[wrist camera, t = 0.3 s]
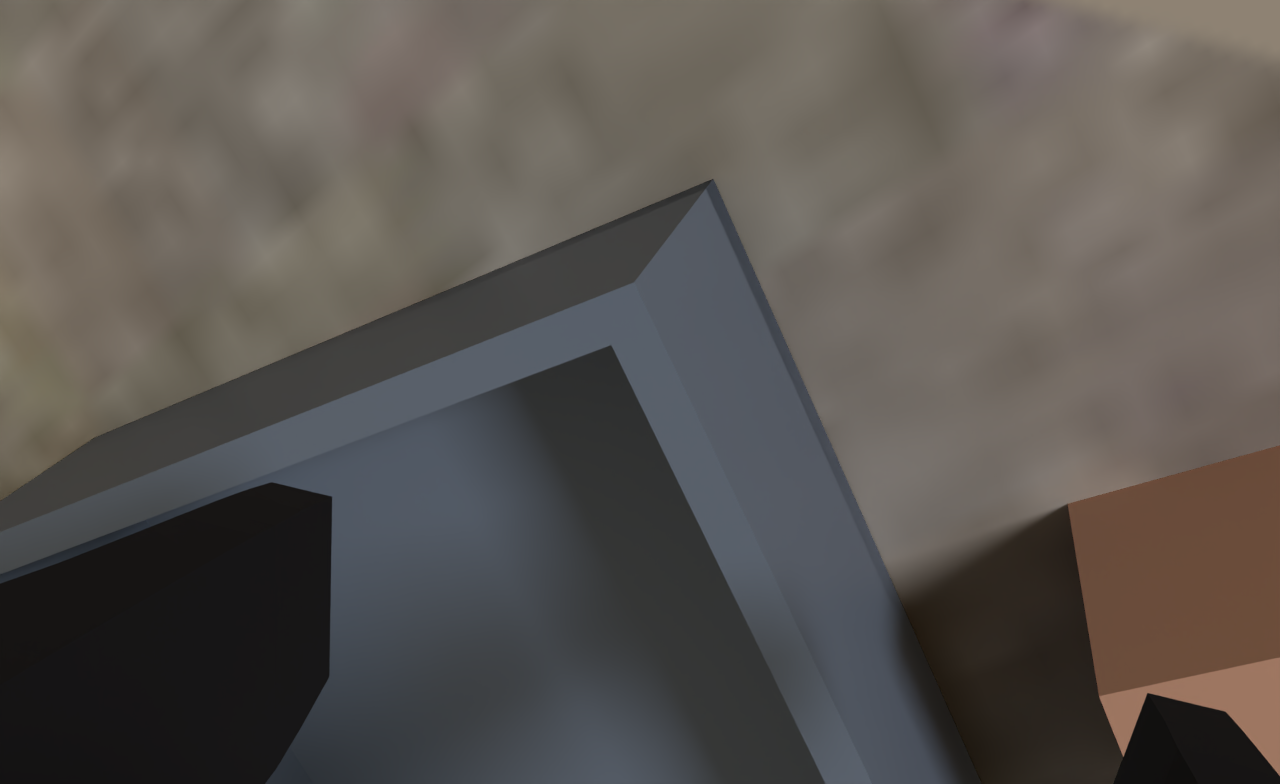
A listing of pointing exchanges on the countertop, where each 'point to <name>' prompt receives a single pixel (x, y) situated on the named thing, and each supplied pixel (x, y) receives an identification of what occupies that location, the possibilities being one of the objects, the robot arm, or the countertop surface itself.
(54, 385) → the countertop surface
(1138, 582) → the terracotta cube
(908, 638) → the slate tote
